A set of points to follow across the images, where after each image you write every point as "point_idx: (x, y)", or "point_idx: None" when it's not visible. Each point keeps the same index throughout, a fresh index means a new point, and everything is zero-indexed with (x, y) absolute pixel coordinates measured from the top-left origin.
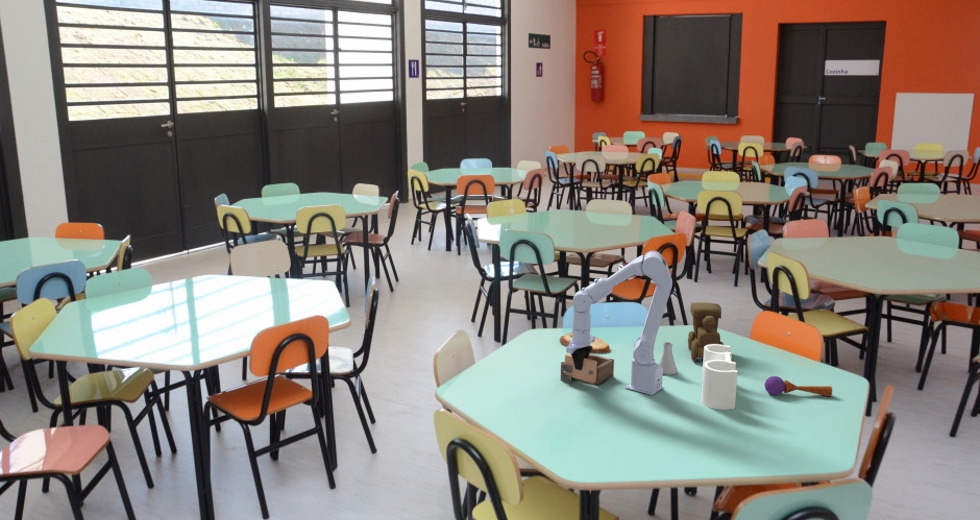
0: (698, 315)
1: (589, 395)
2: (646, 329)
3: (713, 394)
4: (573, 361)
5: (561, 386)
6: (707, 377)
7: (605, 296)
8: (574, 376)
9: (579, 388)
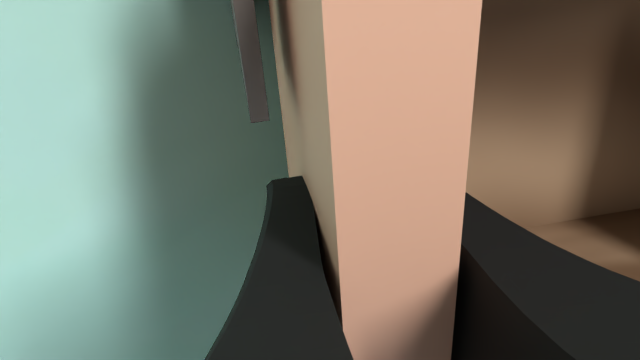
0: None
1: (116, 342)
2: None
3: None
4: (319, 188)
5: (34, 3)
6: None
7: None
8: (278, 83)
9: (175, 190)
